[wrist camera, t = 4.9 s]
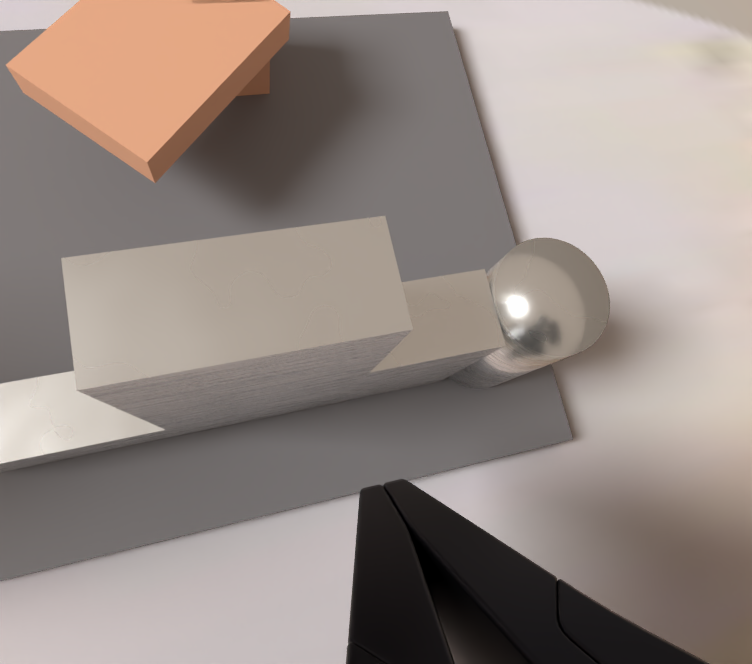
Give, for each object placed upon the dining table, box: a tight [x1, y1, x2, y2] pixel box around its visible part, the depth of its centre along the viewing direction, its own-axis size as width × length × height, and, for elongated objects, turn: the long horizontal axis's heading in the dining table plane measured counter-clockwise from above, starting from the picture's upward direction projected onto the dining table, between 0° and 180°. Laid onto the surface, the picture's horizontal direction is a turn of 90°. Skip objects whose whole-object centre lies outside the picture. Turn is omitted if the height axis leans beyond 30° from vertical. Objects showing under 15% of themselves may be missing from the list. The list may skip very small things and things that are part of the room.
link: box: [0, 216, 610, 472], centre depth 12 cm, size 3×15×8 cm, turn 103°
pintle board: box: [0, 0, 573, 581], centre depth 16 cm, size 16×17×5 cm
